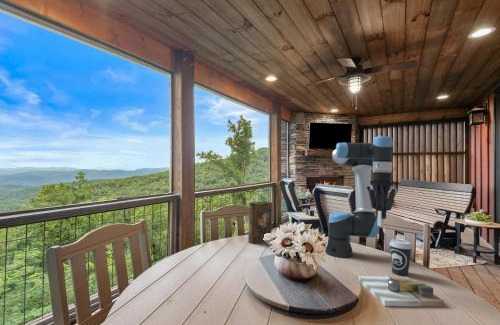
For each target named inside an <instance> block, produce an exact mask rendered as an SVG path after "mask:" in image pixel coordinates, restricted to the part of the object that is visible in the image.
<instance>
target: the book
mask: <svg viewBox="0 0 500 325" xmlns="http://www.w3.org/2000/svg"><path fill="white" fill-rule="evenodd" d="M248 203H249V204H248V206H249V207H248V208H249V211H248V214H249V215H248V236H247V238H248V239H247V241H248V243H249V244H252V245H256V244H260V243H264V242H265V241H264V240H263V238H264V234H266V233H271V232H272V228H273V227H272V225H273V202H272V201H269V202H268V201H266V200H265V201H254V202H248ZM271 234H272V233H271Z"/></svg>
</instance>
